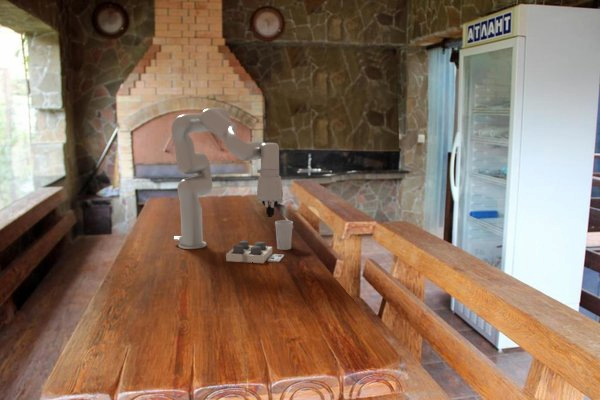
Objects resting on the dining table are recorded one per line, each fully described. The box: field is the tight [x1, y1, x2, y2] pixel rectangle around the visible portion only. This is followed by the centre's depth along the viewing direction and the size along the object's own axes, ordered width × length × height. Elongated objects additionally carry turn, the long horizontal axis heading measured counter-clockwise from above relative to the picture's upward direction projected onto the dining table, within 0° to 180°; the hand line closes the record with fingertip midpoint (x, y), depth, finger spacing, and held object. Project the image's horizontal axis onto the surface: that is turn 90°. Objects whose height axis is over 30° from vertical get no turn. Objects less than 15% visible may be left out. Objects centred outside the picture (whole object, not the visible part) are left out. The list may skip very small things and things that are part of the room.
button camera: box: [251, 245, 261, 255], centre depth 239 cm, size 4×4×4 cm
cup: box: [274, 219, 294, 251], centre depth 257 cm, size 8×8×12 cm
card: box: [267, 253, 285, 263], centre depth 241 cm, size 5×9×1 cm, turn 169°
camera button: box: [232, 244, 244, 254], centre depth 240 cm, size 4×4×4 cm
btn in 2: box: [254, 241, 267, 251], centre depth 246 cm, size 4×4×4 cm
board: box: [225, 245, 273, 264], centre depth 244 cm, size 16×15×3 cm
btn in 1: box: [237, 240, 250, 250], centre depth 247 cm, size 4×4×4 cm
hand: (270, 216), depth 238 cm, fingers closed
